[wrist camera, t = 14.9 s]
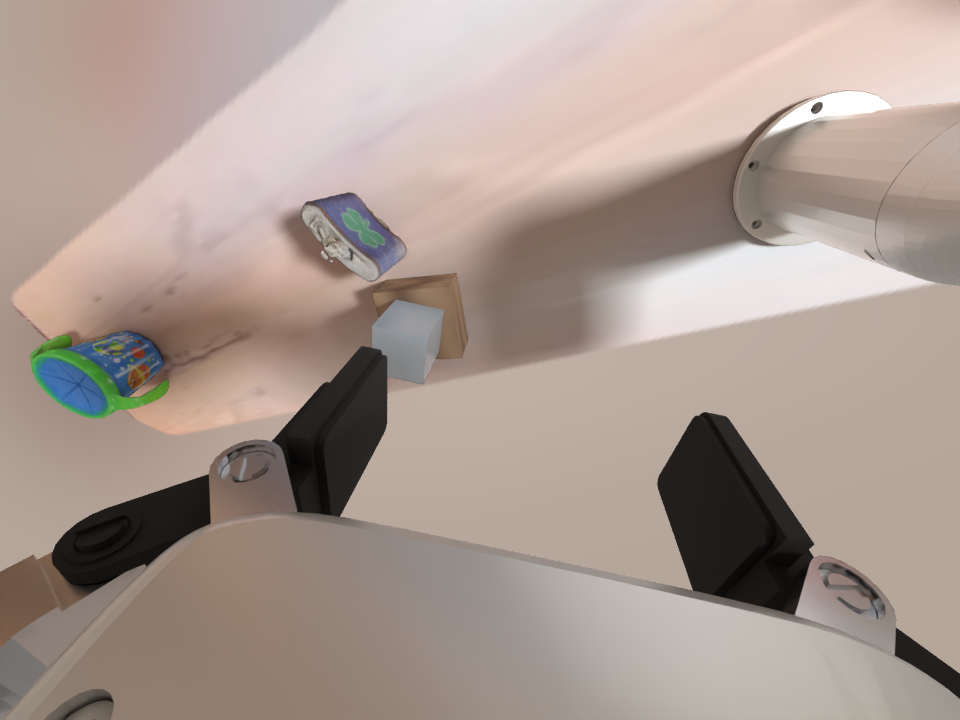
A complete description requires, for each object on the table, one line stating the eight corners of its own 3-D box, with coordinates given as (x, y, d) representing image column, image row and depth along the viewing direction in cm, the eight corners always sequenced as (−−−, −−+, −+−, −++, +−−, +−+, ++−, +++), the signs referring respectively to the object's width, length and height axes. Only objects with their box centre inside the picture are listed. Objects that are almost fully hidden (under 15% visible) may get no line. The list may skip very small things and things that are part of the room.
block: (457, 272, 44) (448, 286, 40) (468, 338, 49) (461, 357, 44) (387, 279, 46) (371, 293, 42) (404, 342, 50) (391, 361, 46)
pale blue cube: (444, 309, 41) (427, 338, 35) (438, 351, 44) (423, 384, 38) (396, 299, 42) (371, 325, 36) (394, 341, 44) (371, 373, 39)
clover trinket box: (411, 249, 43) (377, 278, 34) (396, 265, 44) (359, 297, 35) (350, 185, 40) (294, 198, 31) (335, 204, 42) (278, 222, 33)
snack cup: (90, 348, 59) (12, 384, 50) (90, 297, 53) (3, 328, 45) (186, 397, 61) (128, 439, 53) (195, 353, 56) (132, 392, 47)
